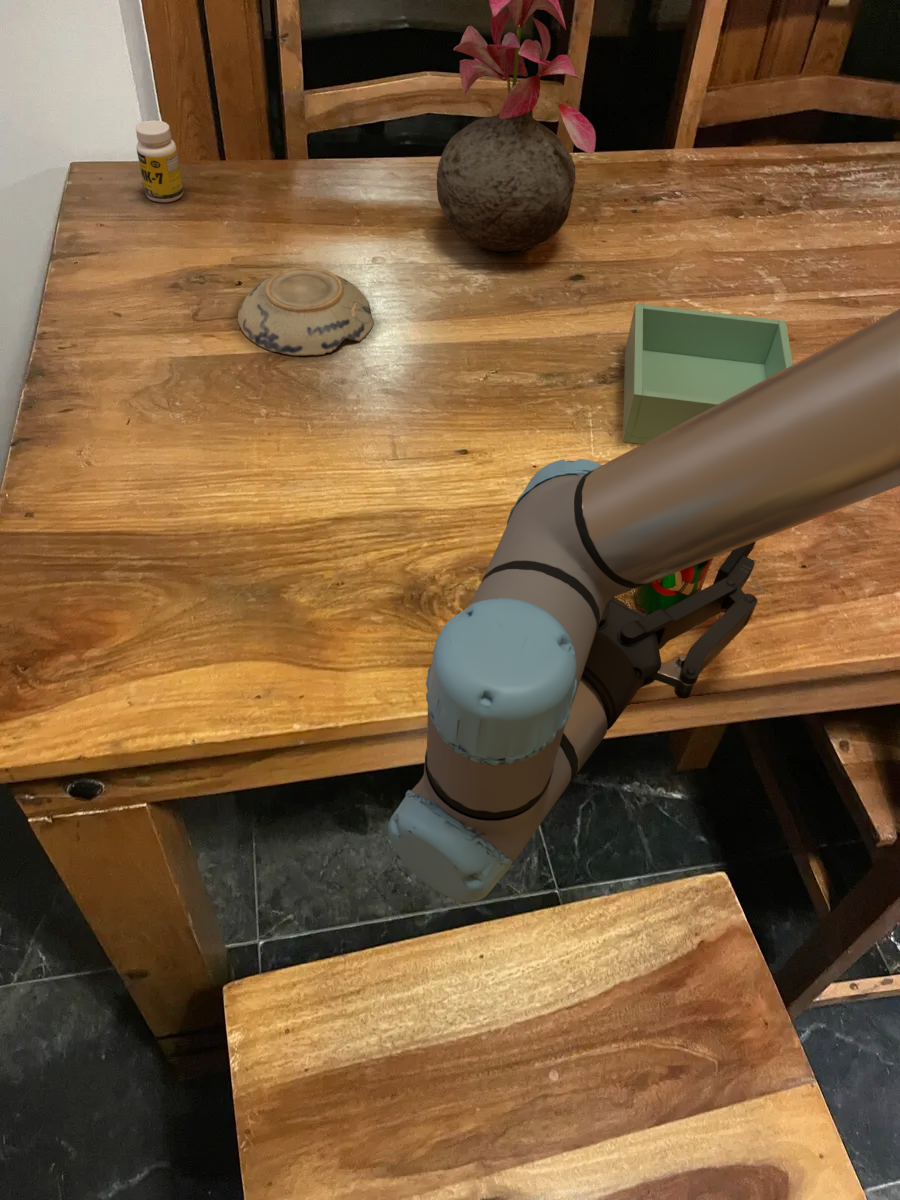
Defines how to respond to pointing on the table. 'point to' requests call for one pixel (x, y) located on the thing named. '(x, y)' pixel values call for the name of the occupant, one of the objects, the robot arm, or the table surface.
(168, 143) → the supplement bottle
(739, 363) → the green open-top storage box
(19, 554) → the table surface
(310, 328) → the decorative bowl
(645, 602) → the soda can
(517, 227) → the vase
